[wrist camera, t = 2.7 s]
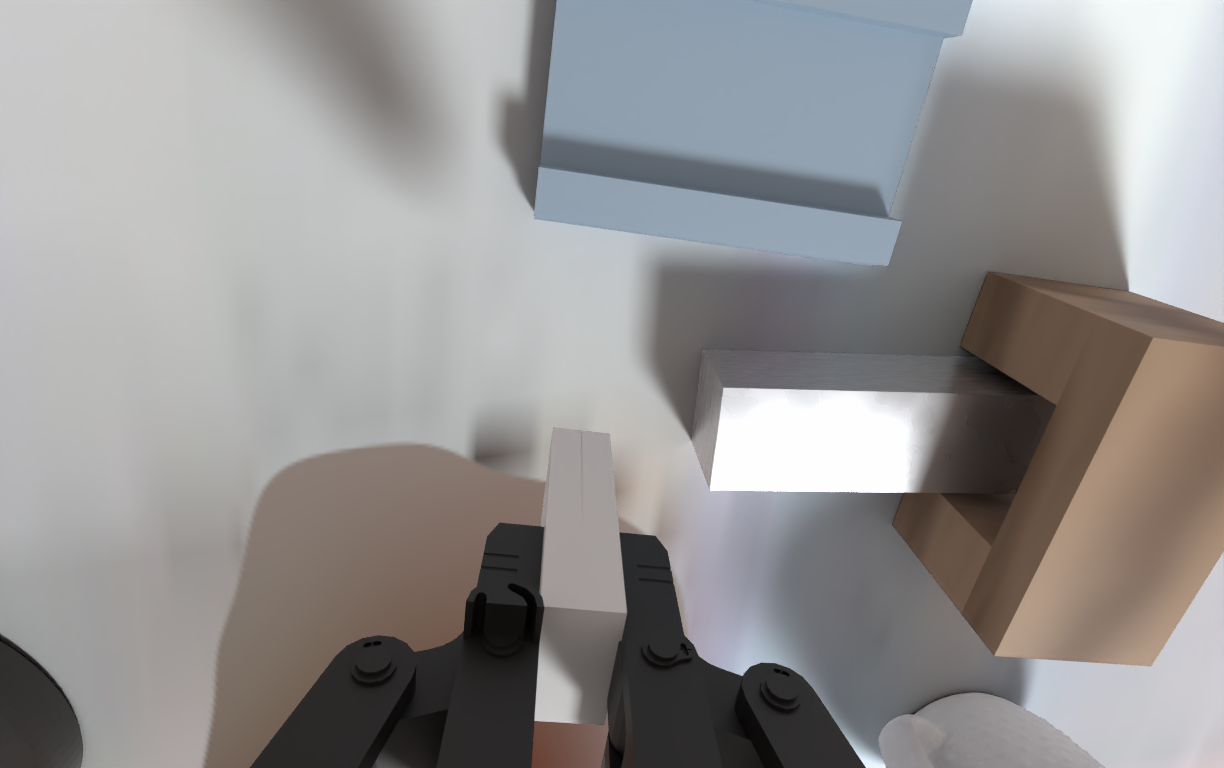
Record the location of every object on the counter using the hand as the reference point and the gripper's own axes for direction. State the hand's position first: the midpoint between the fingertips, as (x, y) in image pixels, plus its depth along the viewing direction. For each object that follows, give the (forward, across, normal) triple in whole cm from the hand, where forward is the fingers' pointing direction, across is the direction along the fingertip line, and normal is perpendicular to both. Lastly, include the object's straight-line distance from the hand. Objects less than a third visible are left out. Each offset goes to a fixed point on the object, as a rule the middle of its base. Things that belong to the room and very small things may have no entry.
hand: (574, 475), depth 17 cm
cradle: (+8, +4, +10) cm, 13 cm away
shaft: (+9, +12, 0) cm, 15 cm away
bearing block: (+8, +18, 0) cm, 20 cm away
